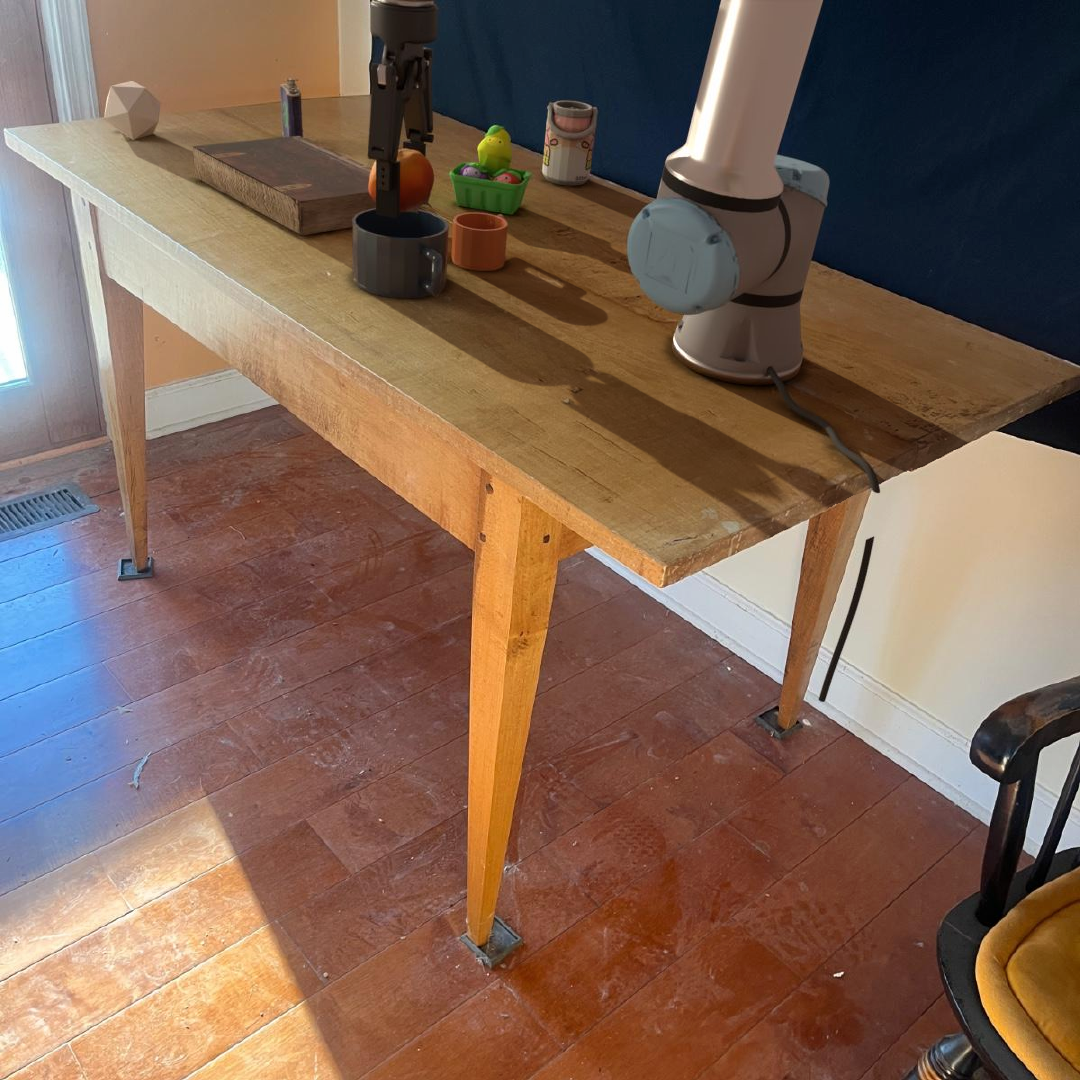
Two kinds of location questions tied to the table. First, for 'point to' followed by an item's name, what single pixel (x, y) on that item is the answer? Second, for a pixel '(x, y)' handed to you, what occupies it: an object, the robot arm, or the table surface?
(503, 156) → the fruit basket
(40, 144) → the table surface
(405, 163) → the fruit
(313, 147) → the hardback book
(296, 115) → the flask
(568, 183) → the white patterned canister
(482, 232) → the small cup
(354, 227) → the big cup
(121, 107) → the die
